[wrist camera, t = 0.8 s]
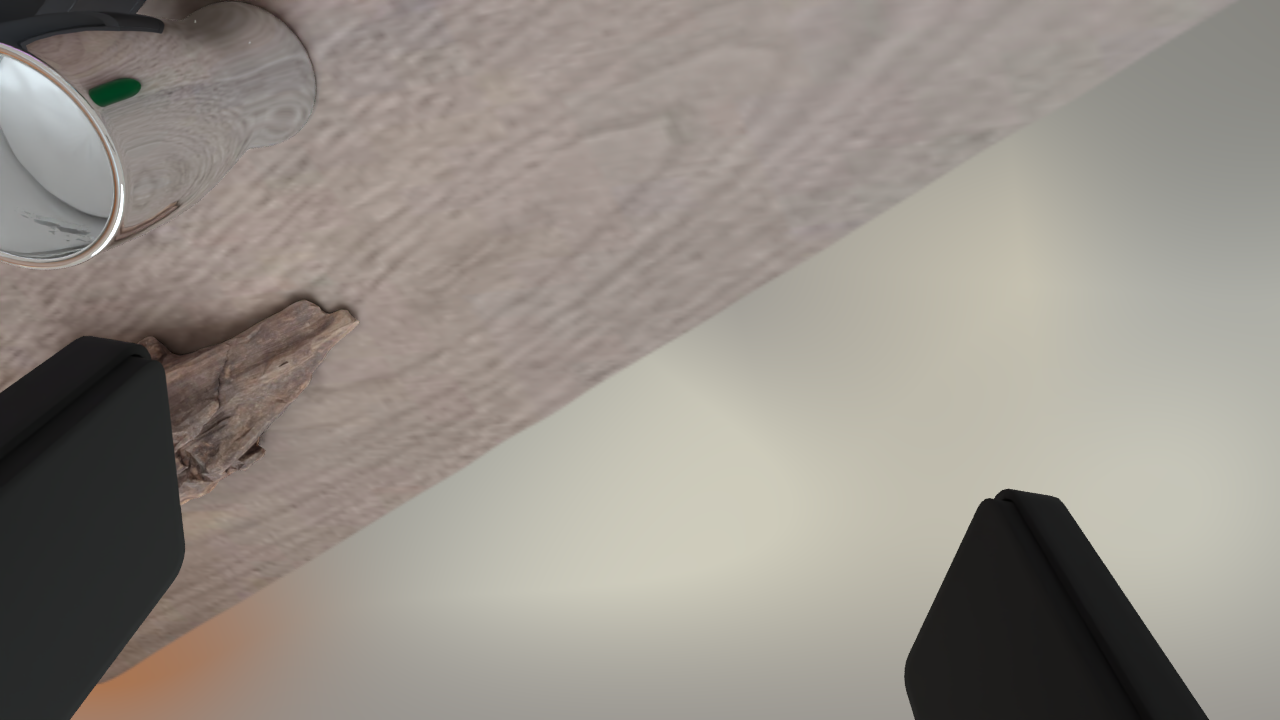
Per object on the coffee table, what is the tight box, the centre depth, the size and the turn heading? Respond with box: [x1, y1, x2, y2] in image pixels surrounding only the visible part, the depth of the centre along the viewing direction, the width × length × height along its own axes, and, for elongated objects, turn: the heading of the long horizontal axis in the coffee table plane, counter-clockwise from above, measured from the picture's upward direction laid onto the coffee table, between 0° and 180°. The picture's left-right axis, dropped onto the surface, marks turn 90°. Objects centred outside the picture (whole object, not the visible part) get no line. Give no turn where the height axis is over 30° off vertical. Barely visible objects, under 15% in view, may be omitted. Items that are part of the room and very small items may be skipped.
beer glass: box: [0, 1, 316, 270], centre depth 30 cm, size 7×7×15 cm
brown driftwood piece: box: [137, 299, 360, 505], centre depth 43 cm, size 10×30×4 cm, turn 121°
